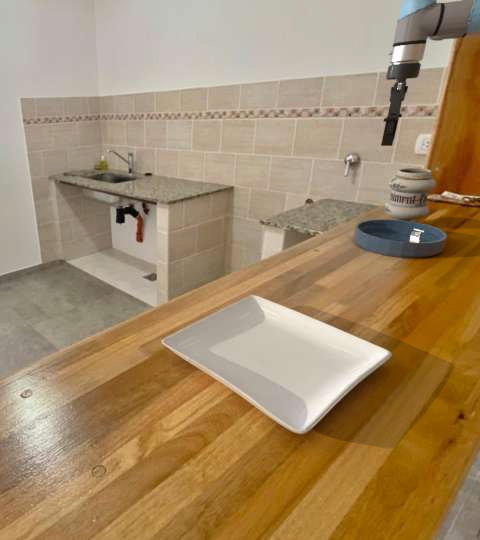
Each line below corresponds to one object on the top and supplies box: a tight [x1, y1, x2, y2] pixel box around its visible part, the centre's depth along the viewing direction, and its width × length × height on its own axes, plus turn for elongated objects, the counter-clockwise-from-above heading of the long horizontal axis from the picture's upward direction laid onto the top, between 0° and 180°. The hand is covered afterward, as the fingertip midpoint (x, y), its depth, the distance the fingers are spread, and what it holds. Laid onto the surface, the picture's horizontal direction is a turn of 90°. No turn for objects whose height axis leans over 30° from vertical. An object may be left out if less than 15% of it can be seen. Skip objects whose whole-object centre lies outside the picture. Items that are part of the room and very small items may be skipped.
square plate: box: [161, 294, 393, 435], centre depth 66 cm, size 27×27×4 cm
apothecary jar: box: [382, 167, 437, 222], centre depth 121 cm, size 12×12×18 cm
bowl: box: [352, 218, 448, 259], centre depth 110 cm, size 21×21×4 cm
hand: (387, 142), depth 115 cm, fingers open, 13 cm apart
